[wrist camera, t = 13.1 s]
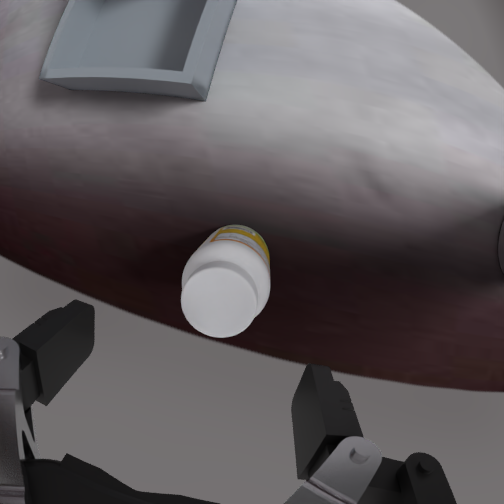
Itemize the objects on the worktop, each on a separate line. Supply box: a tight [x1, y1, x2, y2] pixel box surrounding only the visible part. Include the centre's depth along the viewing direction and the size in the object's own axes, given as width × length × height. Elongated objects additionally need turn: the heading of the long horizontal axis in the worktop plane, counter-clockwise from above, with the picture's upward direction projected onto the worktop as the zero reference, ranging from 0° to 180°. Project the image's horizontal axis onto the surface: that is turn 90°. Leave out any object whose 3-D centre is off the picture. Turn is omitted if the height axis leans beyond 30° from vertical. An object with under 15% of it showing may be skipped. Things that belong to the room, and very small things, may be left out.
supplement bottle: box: [181, 225, 270, 338], centre depth 20 cm, size 5×5×10 cm
